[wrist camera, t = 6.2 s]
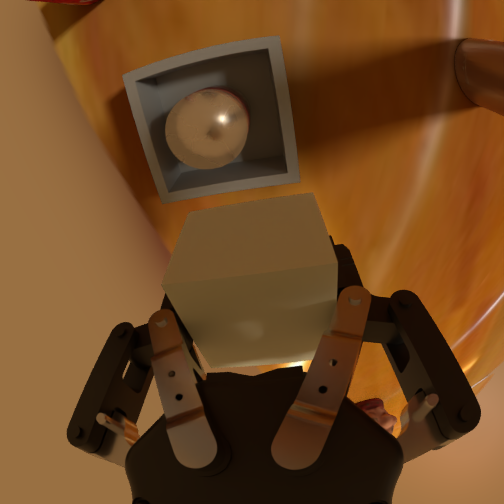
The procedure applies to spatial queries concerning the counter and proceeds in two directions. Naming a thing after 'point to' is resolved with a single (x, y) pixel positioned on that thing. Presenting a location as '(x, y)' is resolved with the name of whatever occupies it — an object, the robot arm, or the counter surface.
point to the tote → (260, 128)
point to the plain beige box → (255, 281)
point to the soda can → (70, 1)
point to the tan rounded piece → (208, 127)
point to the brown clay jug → (378, 413)
